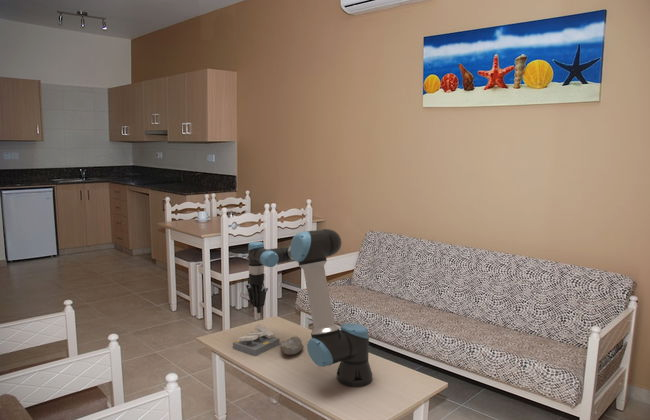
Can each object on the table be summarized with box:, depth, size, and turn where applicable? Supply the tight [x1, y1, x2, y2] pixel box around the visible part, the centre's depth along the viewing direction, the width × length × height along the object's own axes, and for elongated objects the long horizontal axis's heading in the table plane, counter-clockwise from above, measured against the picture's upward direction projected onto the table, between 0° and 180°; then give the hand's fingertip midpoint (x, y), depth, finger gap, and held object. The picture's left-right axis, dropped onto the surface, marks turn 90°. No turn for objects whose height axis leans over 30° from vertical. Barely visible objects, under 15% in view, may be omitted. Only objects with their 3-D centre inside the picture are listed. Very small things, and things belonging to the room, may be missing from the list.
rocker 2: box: [245, 331, 266, 337], centre depth 242 cm, size 10×4×2 cm, turn 54°
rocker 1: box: [237, 335, 258, 341], centre depth 237 cm, size 10×4×2 cm, turn 54°
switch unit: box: [232, 336, 280, 357], centre depth 242 cm, size 15×17×5 cm
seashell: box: [280, 336, 304, 356], centre depth 235 cm, size 9×12×15 cm
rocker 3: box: [253, 323, 275, 338], centre depth 246 cm, size 10×4×2 cm, turn 54°
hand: (257, 318), depth 248 cm, fingers closed
